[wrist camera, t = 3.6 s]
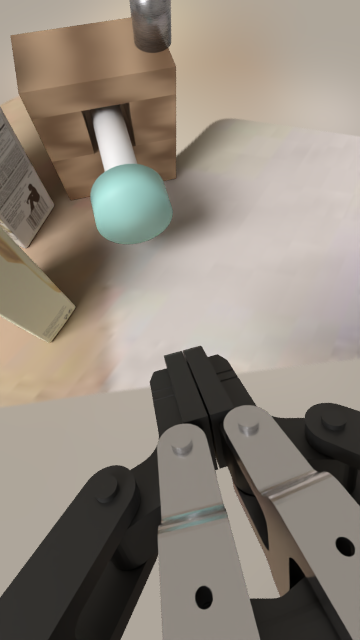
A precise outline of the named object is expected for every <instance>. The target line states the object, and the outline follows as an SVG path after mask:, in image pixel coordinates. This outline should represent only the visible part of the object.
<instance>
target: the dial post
mask: <svg viewBox="0 0 360 640" xmlns="http://www.w3.org/2000/svg"><path fill="white" fill-rule="evenodd" d="M130 8H131V18H132V27H133V36H134V43H135V46H136V47H137V48H138V49H140V50H141V51H144V52H148V53H158V52H161V51H164V50H166V49H167V48H168V47H169V46H170V44H171V0H130Z"/></svg>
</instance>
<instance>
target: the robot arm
mask: <svg viewBox="0 0 360 640" xmlns="http://www.w3.org/2000/svg"><path fill="white" fill-rule="evenodd" d="M183 354H184V355H183ZM164 358H165V362H166V366H167V369H163V370H159V371H156V372H154V373H153V375H152V378H151V380H150V385H151V390H152V397H153V403H154V408H155V414H156V420H157V426H158V431H159V441H158V445H157V447H156V449H155V450H154V452H153V453H152V454H151V456H150V457H149V458H148V459H147V460H145V461H144V462H142V463H141V464H140V465H138V466H136V467H135V468H133V469H131V470H129V469H128V468H126V467H123V466H118V465H115V466H110V467H106V468H104V469H102V470H100V471H98V472H97V473H96V474H94V475H93V476H92V477H91V478H90V479H89V480H88V482H87V483H86V484H85V485H84V487H83V488H82V489H81V491H80V492H79V493H78V495H77V496H76V497H75V499H74V500H73V501H72V503H71V504H70V505H69V507H68V508H67V509H66V511H65V512H64V514H63V515H62V516H61V517H60V519H59V520H58V521H57V523H56V524H55V525H54V527H53V528H52V529H51V531H50V532H49V533H48V535H47V536H46V537H45V539H44V540H43V541H42V543H41V544H40V545H39V547H38V548H37V549H36V551H35V552H34V553H33V555H32V556H31V557H30V559H29V560H28V561H27V563H26V564H25V565H24V567H23V568H22V569H21V571H20V572H19V573H18V575H17V576H16V577H15V579H14V580H13V581H12V583H11V584H10V585H9V587H8V588H7V589H6V591H5V592H4V593H3V595H2V596H1V597H0V640H120V639H121V637H122V635H123V633H124V631H125V628H126V626H127V624H128V622H129V619H130V617H131V615H132V612H133V610H134V608H135V606H136V604H137V602H138V599H139V597H140V595H141V593H142V590H143V588H144V586H145V584H146V581H147V579H148V577H149V575H150V572H151V570H152V568H153V565H154V564H155V562H156V559H157V556H158V555H159V574H160V595H161V612H162V614H161V615H162V633H163V640H360V412H359V411H357V410H354V409H351V408H348V407H344V406H341V405H338V404H333V403H321V404H317V405H314V406H312V407H311V408H310V409H308V411H307V412H306V414H305V418H277V417H273V416H271V415H270V414H269V413H268V412H267V411H265V410H264V409H262V408H260V407H257V406H256V405H255V403H254V402H253V400H252V398H251V397H250V395H249V394H248V392H247V390H246V389H245V387H244V386H243V384H242V383H241V381H240V379H239V378H238V377H237V375H236V373H235V372H234V371H233V368H232V367H231V365H230V364H229V362H228V361H227V360H226V359H224V358H223V357H221V356H219V355H218V354H217V355H214V356H210V357H207V355H206V354H205V352H204V350H203V348H202V346H198V347H194V348H190V349H187V350H183V352H182V351H180V352H176V353H172V354H168V355H165V356H164ZM216 459H217V462H218V464H219V467H220V468H223V467H226V466H228V469H229V471H230V474H231V476H232V481H233V487H234V490H235V493H236V495H237V497H238V499H239V501H240V503H241V505H242V508H243V510H244V512H245V514H246V516H247V518H248V520H249V522H250V524H251V526H252V529H253V531H254V533H255V535H256V537H257V539H258V541H259V543H260V546H261V548H262V550H263V552H264V554H265V556H266V559H267V561H268V564H269V567H270V570H271V574H272V577H273V580H274V582H275V585H276V587H277V590H278V592H279V595H280V597H279V598H274V599H249V595H248V591H247V588H246V583H245V580H244V576H243V572H242V568H241V564H240V560H239V557H238V553H237V549H236V546H235V541H234V538H233V534H232V530H231V526H230V523H229V519H228V515H227V512H226V509H225V507H224V504H223V500H222V496H221V492H220V488H219V485H218V481H217V476H216V471H215V470H217V469H218V467H217V462H216Z"/></svg>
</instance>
